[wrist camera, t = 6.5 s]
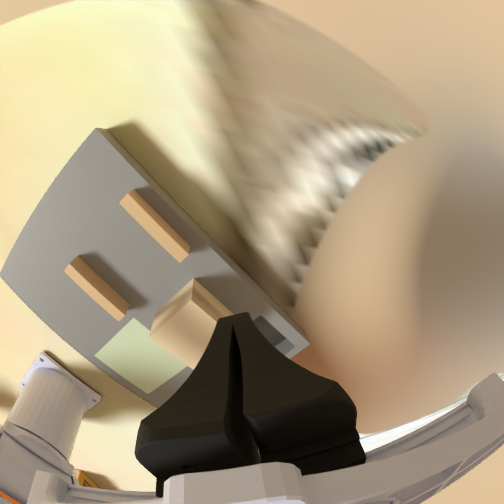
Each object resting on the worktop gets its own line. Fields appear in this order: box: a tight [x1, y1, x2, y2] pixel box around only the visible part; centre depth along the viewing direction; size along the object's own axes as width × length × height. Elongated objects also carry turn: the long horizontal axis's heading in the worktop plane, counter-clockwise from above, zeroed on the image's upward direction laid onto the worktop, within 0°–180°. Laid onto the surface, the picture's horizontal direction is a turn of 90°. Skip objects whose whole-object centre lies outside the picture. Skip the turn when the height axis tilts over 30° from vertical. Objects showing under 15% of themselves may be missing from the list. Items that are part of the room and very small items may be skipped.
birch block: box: [149, 278, 234, 370], centre depth 19 cm, size 4×4×3 cm
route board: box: [0, 128, 310, 408], centre depth 20 cm, size 15×22×4 cm
